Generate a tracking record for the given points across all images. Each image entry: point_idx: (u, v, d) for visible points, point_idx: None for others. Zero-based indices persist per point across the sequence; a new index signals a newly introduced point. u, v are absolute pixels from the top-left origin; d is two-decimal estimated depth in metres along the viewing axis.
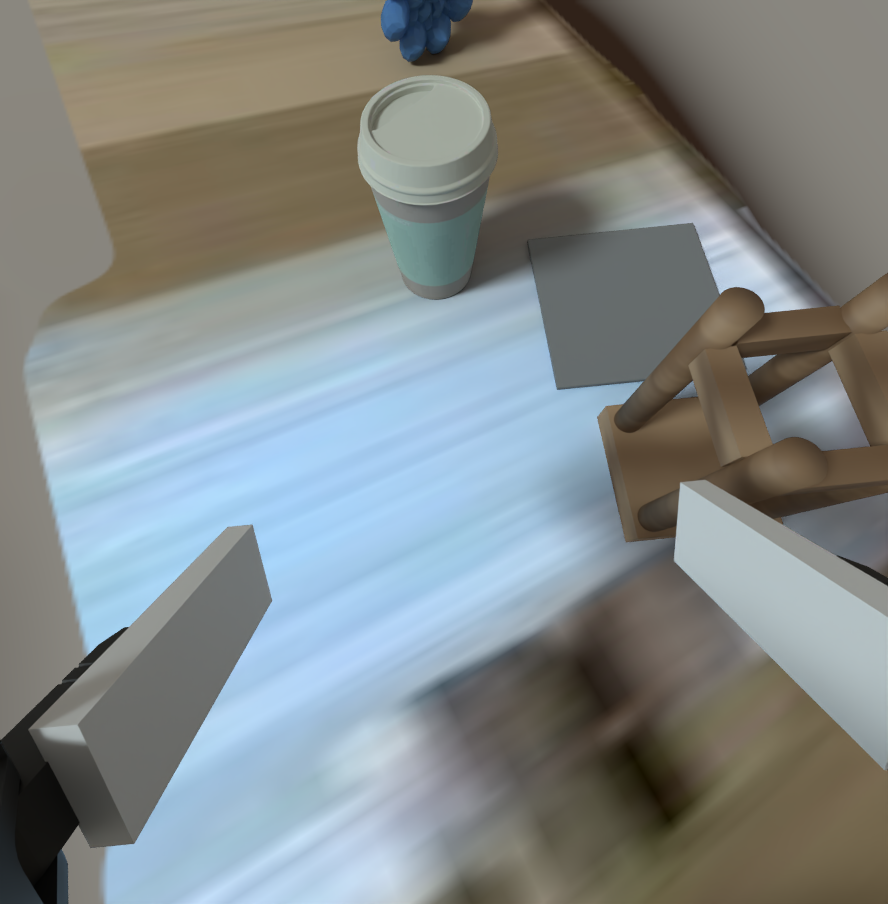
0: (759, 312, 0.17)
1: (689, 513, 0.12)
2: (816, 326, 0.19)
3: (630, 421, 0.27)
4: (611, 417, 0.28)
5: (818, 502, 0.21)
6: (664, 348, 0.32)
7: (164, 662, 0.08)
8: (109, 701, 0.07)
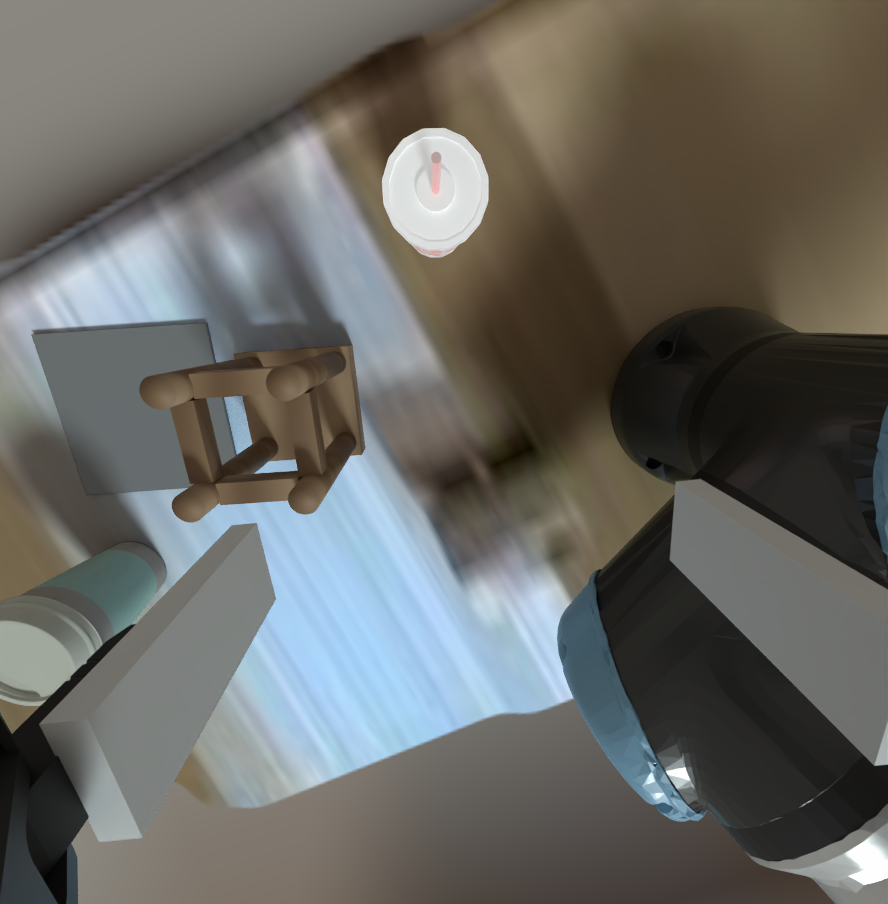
0: (192, 498, 0.24)
1: (684, 512, 0.12)
2: (191, 424, 0.24)
3: (269, 459, 0.34)
4: None
5: (329, 376, 0.29)
6: None
7: (171, 659, 0.08)
8: (118, 696, 0.07)
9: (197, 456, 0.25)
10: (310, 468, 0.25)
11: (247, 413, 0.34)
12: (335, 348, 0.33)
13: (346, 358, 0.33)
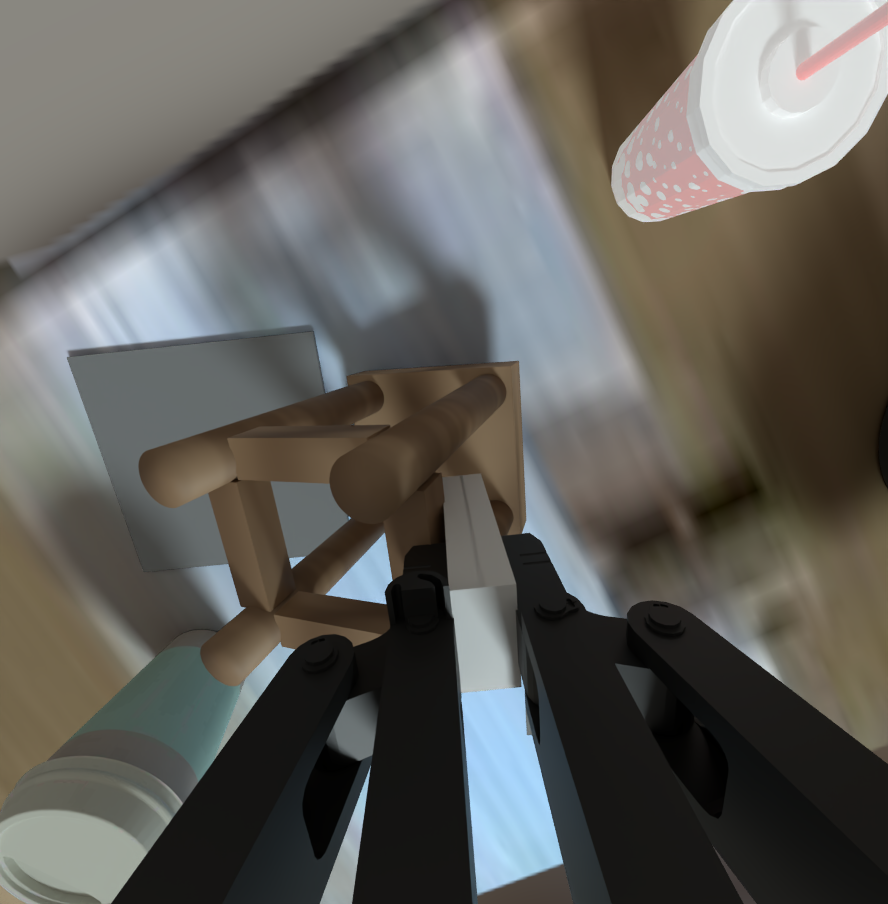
0: (226, 652, 0.14)
1: None
2: (236, 520, 0.14)
3: (384, 532, 0.23)
4: None
5: (475, 430, 0.16)
6: None
7: None
8: None
9: (247, 569, 0.15)
10: None
11: None
12: (490, 369, 0.20)
13: (507, 386, 0.20)
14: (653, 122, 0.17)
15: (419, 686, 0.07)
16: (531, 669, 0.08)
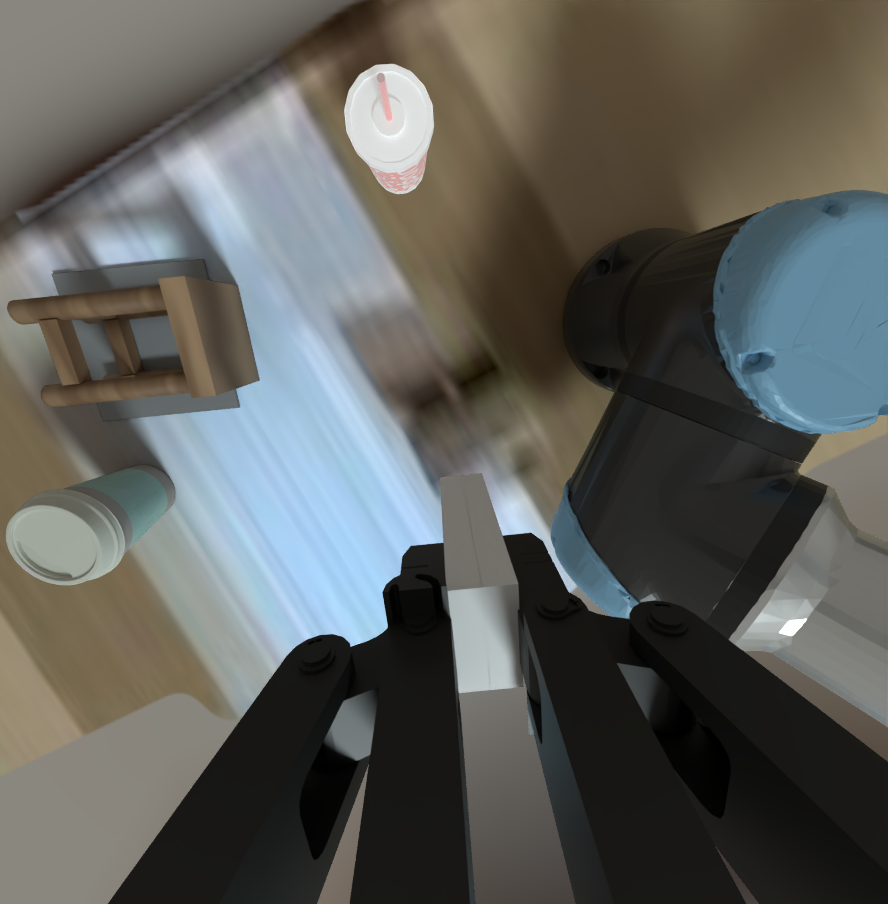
0: (104, 379, 0.40)
1: None
2: None
3: None
4: None
5: (103, 310, 0.32)
6: None
7: None
8: None
9: None
10: None
11: None
12: None
13: None
14: None
15: (417, 686, 0.07)
16: (533, 669, 0.08)
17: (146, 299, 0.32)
